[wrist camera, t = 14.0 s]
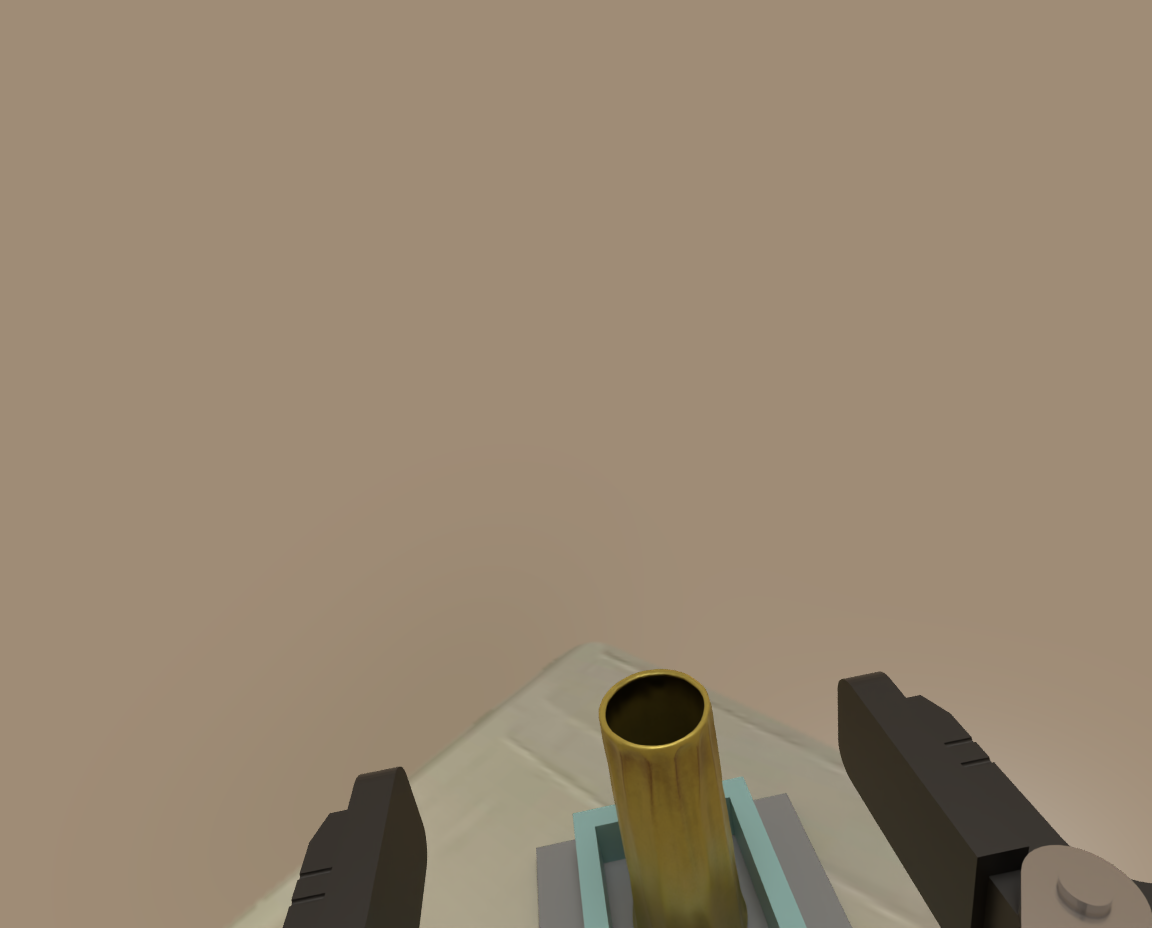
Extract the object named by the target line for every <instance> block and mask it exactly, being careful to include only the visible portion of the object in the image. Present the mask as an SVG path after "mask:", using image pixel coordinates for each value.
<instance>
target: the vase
mask: <svg viewBox="0 0 1152 928" xmlns="http://www.w3.org/2000/svg"><path fill="white" fill-rule="evenodd" d="M599 721H600V726H601V733H602V739H603V744H604V749H605V753H606V757H607V762H608V767H609V772H610V779H611V785H612V791H613V796H614V801H615V807H616V812H617V818H618V823H619V828H620V833H621V839H622V844H623V849H624V854H625V859H626V863H627V867H628V871H629V876H630V882H631V889H632V897H633V926H634V928H747V922H748V913H747V906H746V903H745V900H744V897H743V895H742V892H741V888H740V884H739V878H738V873H737V868H736V862H735V854H734V846H733V839H732V833H731V828H730V822H729V816H728V810H727V805H726V799H725V794H724V789H723V785H722V774H721V766H720V759H719V752H718V745H717V738H716V732H715V726H714V720H713V712H712V706H711V703H710V700H709V696H708V693H707V691H706V689H705V688H704V687H703V686H702V685H701V684H700V683H699V682H698V681H696V680H695V679H694V678H692V677H691V676H689V675H687V674H685V673H682V672H678V671H674V670H668V669H655V670H647V671H642V672H638V673H635V674H632V675H630V676H628V677H626V678H624V679H623V680H621V681H619V682H618V683H616V684H615V685H614V686H613V687H612V688H611V689H610V690H609V691H608V692H607V693H606V695H605V696H604V698H603V699H602V702H601V704H600V708H599Z"/></svg>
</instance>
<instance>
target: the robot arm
mask: <svg viewBox="0 0 1152 928" xmlns="http://www.w3.org/2000/svg"><path fill="white" fill-rule="evenodd" d="M838 742H839V750H840V754H841V758H842V761H843V764H844V767H845V769H846V772H847V774H848V776H849V778H850V780H851V781H852V783H853V785H854V786H855V788H856V790H857V791H858V793H859V794H860V796H861V798H862V799H863V801H864V803H865V804H866V806H867V808H868V809H869V811H870V812H871V814H872V816H873V817H874V819H875V821H876V822H877V824H878V825H879V827H880V829H881V830H882V832H883V834H884V835H885V837H886V839H887V840H888V842H889V843H890V845H891V847H892V848H893V850H894V852H895V853H896V855H897V856H898V858H899V860H900V861H901V863H902V865H903V866H904V868H905V870H906V871H907V873H908V874H909V876H910V878H911V879H912V881H913V883H914V884H915V886H916V887H917V889H918V891H919V892H920V894H921V896H922V897H923V899H924V901H925V902H926V904H927V905H928V907H929V909H930V910H931V912H932V914H933V915H934V917H935V918H936V920H937V922H938V923H939V925H940V927H941V928H1152V883H1145V882H1139V881H1135V880H1132V879H1130V878H1129V877H1127V875H1126V874H1124V873H1123V872H1122V871H1121V870H1119V869H1118V868H1116V867H1115V866H1114V865H1113V864H1111V863H1109V862H1107V861H1106V860H1104V859H1103V858H1101V857H1099V856H1096V855H1094V854H1092V853H1090V852H1087V851H1084V850H1082V849H1078V848H1074V847H1070V846H1069V845H1068V844H1067V843H1066V842H1065V841H1064V840H1063V839H1062V838H1061V837H1060V836H1059V834H1058V833H1057V832H1056V831H1055V830H1054V829H1053V828H1052V827H1051V826H1050V825H1049V823H1048V822H1047V821H1046V820H1045V819H1044V818H1043V817H1042V816H1041V815H1040V813H1039V812H1038V811H1037V810H1036V809H1035V808H1034V807H1033V805H1032V804H1031V803H1030V802H1029V801H1028V800H1027V799H1026V798H1025V797H1024V795H1023V794H1022V793H1021V792H1020V791H1019V790H1018V789H1017V788H1016V786H1014V784H1013V783H1012V782H1011V781H1010V780H1009V779H1008V777H1007V776H1006V775H1005V774H1004V773H1003V772H1002V771H1001V770H1000V769H999V767H998V766H997V765H996V764H995V763H994V762H993V763H992V762H991V761H990V759H989V756H988V755H987V754H986V753H985V752H984V751H983V750H982V748H981V747H980V746H979V745H978V744H977V743H976V742H973V741H972V738H971V736H970V735H969V734H968V733H967V732H966V731H965V729H963V727H962V726H961V725H960V724H959V723H958V722H957V720H956V719H955V718H954V717H953V716H952V715H951V714H950V713H949V712H947V711H945V710H944V709H942V708H941V707H939V706H937V705H936V704H934V703H933V702H931V701H929V700H928V699H926V698H924V697H923V696H921V695H919V696H914V697H909V698H906V697H905V696H904V695H903V694H902V692H901V691H900V690H899V689H898V688H897V686H896V685H895V684H894V683H893V682H892V680H891V679H890V678H889V677H888V676H887V675H886V674H885V673H883V672H875V673H870V674H866V675H861V676H855V677H851V678H846V679H841V680H840V681H839V683H838ZM426 867H427V843H426V835H425V830H424V826H423V823H422V820H421V817H420V814H419V811H418V808H417V805H416V802H415V799H414V796H413V793H412V790H411V787H410V784H409V781H408V778H407V775H406V773H405V771H404V769H403V768H402V767H396V768H391V769H386V770H381V771H377V772H371V773H366V774H361V775H359V776H358V777H357V778H356V781H355V784H354V787H353V791H352V795H351V799H350V802H349V806H348V810H344V811H339V812H334V813H330V814H329V815H328V817H327V818H326V820H325V821H324V822H323V824H322V825H321V827H320V828H319V829H318V831H317V832H316V834H315V835H314V837H313V838H312V840H311V841H310V842H309V845H308V849H307V852H306V855H305V858H304V861H303V865H302V868H301V871H300V880H298V881H297V884H296V887H295V890H294V893H293V897H292V906H290V907H289V909H288V913H287V916H286V919H285V922H284V925H283V928H419V925H420V917H421V909H422V901H423V892H424V884H425V876H426Z"/></svg>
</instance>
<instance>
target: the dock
mask: <svg viewBox="0 0 1152 928" xmlns="http://www.w3.org/2000/svg"><path fill="white" fill-rule="evenodd" d="M722 785H723V789H724V794H725V799H726V805H727V810H728V816H729V822H730V828H731V833H732V839H733V846H734V854H735V862H736V868H737V873H738V878H739V884H740V888H741V892H742V895H743V897H744V900H745V903H746V906H747V913H748V922H747V928H852V926H851V924H850V922H849V920H848V918H847V916H846V914H845V912H844V910H843V908H842V906H841V904H840V902H839V900H838V898H837V896H836V893H835V891H834V889H833V887H832V885H831V883H830V881H829V879H828V877H827V875H826V873H825V871H824V869H823V867H822V865H821V863H820V861H819V859H818V857H817V854H816V852H815V850H814V848H813V846H812V844H811V842H810V840H809V838H808V836H807V834H806V832H805V830H804V828H803V826H802V824H801V822H800V820H799V818H798V816H797V813H796V811H795V809H794V807H793V805H792V803H791V801H790V799H789V797H788V795H787V793H784V794H780V795H775V796H771V797H766V798H762V799H757V800H753V799H752V797H751V794H750V792H749V790H748V787H747V785H746V783H745V780H744V778H743V777H738V778H734V779H729V780H724V781H722ZM573 821H574V831H575V840H570V841H566V842H561V843H557V844H552V845H548V846H543V847H538V848H536V854H537V880H538V905H539V928H634V926H633V897H632V889H631V882H630V876H629V871H628V867H627V863H626V859H625V854H624V849H623V844H622V839H621V833H620V828H619V823H618V818H617V812H616V807H615V805H610V806H605V807H601V808H596V809H592V810H587V811H583V812H578V813H573Z"/></svg>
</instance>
